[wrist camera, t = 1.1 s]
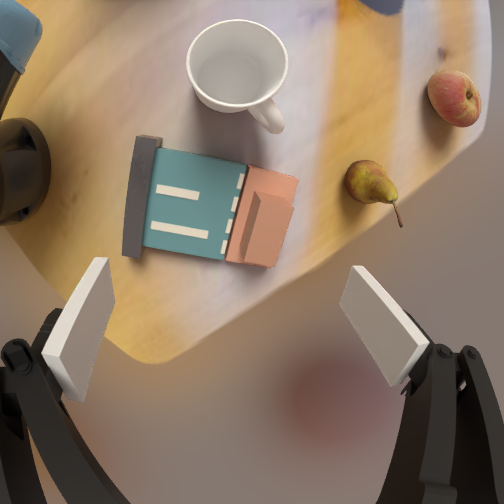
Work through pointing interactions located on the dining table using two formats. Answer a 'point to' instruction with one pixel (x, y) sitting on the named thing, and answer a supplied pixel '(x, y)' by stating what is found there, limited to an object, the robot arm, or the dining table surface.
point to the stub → (261, 217)
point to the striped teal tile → (192, 203)
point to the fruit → (370, 184)
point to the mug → (239, 70)
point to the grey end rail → (138, 194)
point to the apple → (454, 97)
